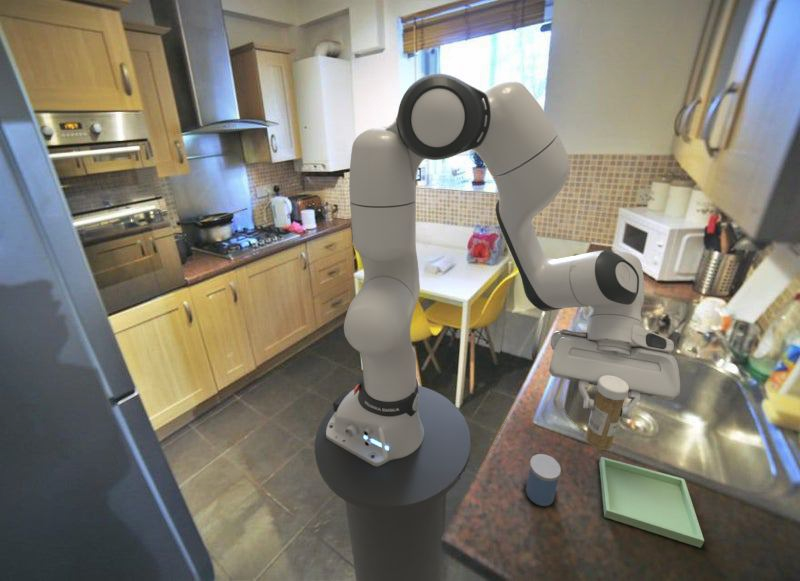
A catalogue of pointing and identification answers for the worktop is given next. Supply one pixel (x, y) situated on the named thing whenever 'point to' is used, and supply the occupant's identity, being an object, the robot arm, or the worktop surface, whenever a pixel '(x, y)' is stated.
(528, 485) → the blue tin
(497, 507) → the worktop surface
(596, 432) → the sprinkles bottle
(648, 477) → the sage tray
